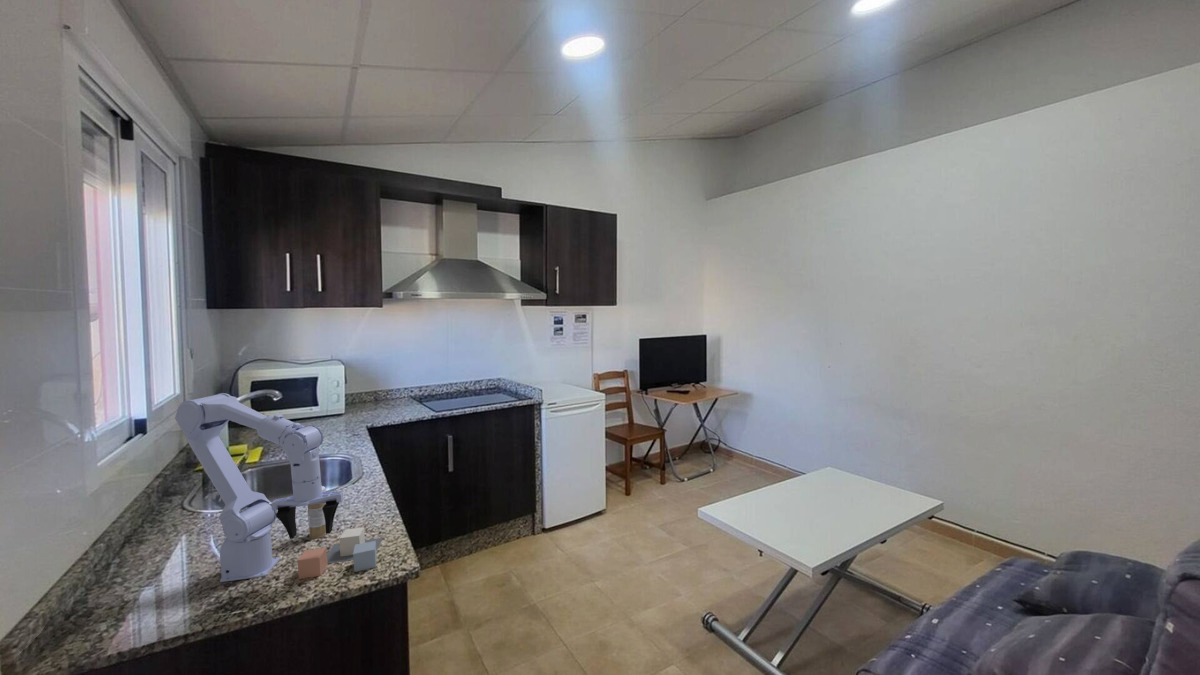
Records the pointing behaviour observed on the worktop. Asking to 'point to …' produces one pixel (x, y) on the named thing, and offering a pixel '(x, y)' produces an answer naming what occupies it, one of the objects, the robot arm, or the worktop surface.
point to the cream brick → (351, 540)
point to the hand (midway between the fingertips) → (311, 534)
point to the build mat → (335, 556)
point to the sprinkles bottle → (316, 519)
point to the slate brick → (364, 556)
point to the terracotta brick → (312, 563)
